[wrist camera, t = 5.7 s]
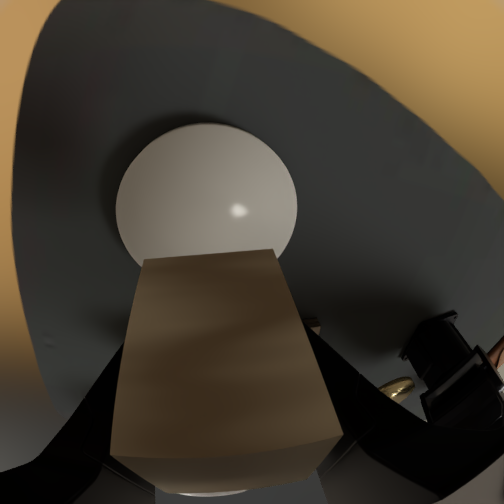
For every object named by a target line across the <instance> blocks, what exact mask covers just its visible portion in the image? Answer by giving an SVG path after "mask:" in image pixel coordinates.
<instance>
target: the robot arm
mask: <svg viewBox="0 0 504 504" xmlns="http://www.w3.org/2000/svg"><path fill="white" fill-rule="evenodd" d="M457 317H458V314H457V313H456V312H454V313H451V314H448V315H445V316H441V317H438V318H435V319H432V320H428V321H425V322H422V323H421V324H420V325H419V326H418V328H417V330H416V332H415V334H414V336H413V338H412V340H411V341H410V343H409V345H408V347H407V349H406V350H405V352H404V354H403V356H402V357H401V359H402V361H407V360H409V361H410V363H411V364H412V366H413V368H414V370H415V371H416V373H417V375H418V377H419V378H420V379H421V380H422V379H423V380H424V382H425V384H426V386H427V387H428V389H429V390H427V391H426V392H425V393H423V394H421V395H420V399H421V404H422V407H423V410H424V413H425V416H426V419H427V422H426V421H424V420H422V419H420V418H419V417H417V416H416V415H414V414H413V413H411V412H410V411H408V410H407V409H405V408H404V407H402V406H401V405H400V404H398V403H397V402H395V401H394V400H392V399H391V398H390V397H388V396H387V395H386V394H384V393H383V392H381V391H380V390H379V389H378V388H377V387H375V386H374V385H373V384H372V383H371V382H369V381H368V380H367V379H366V378H365V377H364V376H363V375H362V374H359V372H358V371H357V370H356V369H355V368H354V367H353V366H351V365H350V364H349V363H348V362H347V361H346V360H345V359H344V358H343V357H342V356H340V355H339V354H338V353H337V352H336V351H335V350H334V349H333V348H332V347H331V346H329V345H328V344H327V343H326V342H325V341H324V340H323V339H322V338H321V337H320V336H319V335H317V334H316V333H315V332H314V331H313V330H312V329H311V328H310V327H309V326H308V325H307V324H306V323H304V322H303V321H302V320H301V321H302V324H303V326H304V329H305V332H306V334H307V337H308V340H309V342H310V345H311V347H312V350H313V353H314V355H315V358H316V361H317V363H318V366H319V369H320V371H321V374H322V377H323V380H324V382H325V385H326V388H327V390H328V393H329V396H330V399H331V401H332V404H333V407H334V410H335V412H336V415H337V418H338V421H339V423H340V426H341V429H342V432H343V436H342V437H341V438H340V440H339V441H338V442H337V444H336V445H335V446H334V447H333V449H332V450H331V451H330V452H329V454H328V455H327V456H326V457H325V459H324V460H323V461H322V462H321V463H320V465H319V466H318V467H317V468H316V470H317V473H318V475H319V478H320V481H321V485H322V488H323V490H324V493H325V496H326V499H327V501H328V504H504V393H503V392H502V391H503V390H504V382H503V379H502V378H501V376H500V374H499V372H498V371H497V369H496V367H495V365H494V364H493V362H492V361H491V359H490V358H489V357H488V355H487V354H486V353H485V351H484V350H483V349H482V348H481V347H480V346H478V345H476V347H475V348H474V350H472V349H471V348H470V346H469V345H468V343H467V342H466V341H465V339H464V338H463V337H462V335H461V334H460V332H459V331H458V330H457V328H456V327H455V326H454V325H453V324H454V322H455V320H456V319H457ZM124 343H125V341H124ZM124 343H123V344H122V345H121V347H120V348H119V349H118V351H117V352H116V354H115V355H114V356H113V358H112V359H111V360H110V362H109V363H108V365H107V366H106V367H105V369H104V370H103V372H102V373H101V374H100V376H99V377H98V379H97V380H96V382H95V383H94V384H93V386H92V387H91V389H90V390H89V392H88V393H87V394H86V396H85V398H86V399H85V398H84V399H83V400H82V402H81V403H80V405H79V406H78V407H77V409H76V410H75V412H74V413H73V414H72V416H71V417H70V418H69V420H68V421H67V422H66V424H65V425H64V426H63V427H62V429H61V430H60V431H59V432H58V433H57V435H56V436H55V437H54V438H53V439H52V441H51V442H50V443H49V444H48V445H47V447H46V448H45V449H44V450H43V451H42V453H40V455H39V456H37V457H36V458H35V459H34V460H33V461H31V462H29V463H26V464H24V465H21V466H18V467H16V468H12V469H10V470H7V471H4V472H0V504H155V486H154V485H153V484H151V483H150V482H148V481H146V480H145V479H143V478H142V477H140V476H139V475H137V474H136V473H134V472H133V471H132V470H130V469H129V468H127V467H126V466H124V465H123V464H122V463H120V462H119V461H118V460H116V459H115V458H114V457H112V456H111V455H110V447H111V435H112V424H113V415H114V407H115V399H116V391H117V384H118V378H119V372H120V365H121V360H122V354H123V348H124ZM481 360H482V361H483V363H482V364H481V365H480V366H479V365H478V363H479V362H480V361H481Z"/></svg>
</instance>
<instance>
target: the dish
mask: <svg viewBox="0 0 504 504" xmlns="http://www.w3.org/2000/svg"><path fill="white" fill-rule="evenodd" d="M296 215H297V198H296V191H295V188H294V184H293V181H292V178H291V176H290V174H289V172H288V170H287V168H286V167H285V165H284V164H283V162H282V161H281V159H280V158H279V157H278V156H277V155H276V154H275V153H274V151H273V150H272V149H271V148H270V147H269V146H267V145H266V144H265V143H264V142H263V141H261V140H260V139H259V138H257V137H256V136H254V135H253V134H251V133H249V132H247V131H245V130H243V129H240V128H238V127H234V126H231V125H227V124H221V123H214V122H207V123H194V124H188V125H184V126H181V127H177V128H175V129H172V130H170V131H168V132H166V133H164V134H162V135H161V136H159V137H157V138H156V139H154V140H153V141H152V142H151V143H150V144H148V145H147V146H146V147H145V148H144V149H143V150H142V151H141V152H140V153H139V155H138V156H137V157H136V158H135V159H134V160H133V161H132V163H131V164H130V166H129V168H128V169H127V171H126V172H125V174H124V177H123V179H122V181H121V183H120V187H119V190H118V194H117V201H116V219H117V226H118V230H119V233H120V236H121V239H122V241H123V243H124V245H125V247H126V249H127V250H128V252H129V253H130V255H131V256H132V257H133V259H134V260H135V261H136V262H137V263H138V264H139V265H140V266H141V267H142V265H143V261H144V259H152V258H164V257H176V256H188V255H201V254H213V253H225V252H237V251H249V250H262V249H273V250H274V252H275V255H276V257H277V258H278V257H279V256H280V254H281V253H282V252H283V250H284V249H285V247H286V245H287V244H288V242H289V240H290V237H291V235H292V233H293V229H294V226H295V222H296Z"/></svg>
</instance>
